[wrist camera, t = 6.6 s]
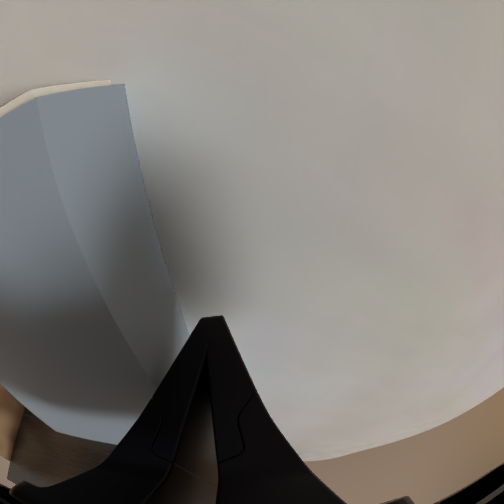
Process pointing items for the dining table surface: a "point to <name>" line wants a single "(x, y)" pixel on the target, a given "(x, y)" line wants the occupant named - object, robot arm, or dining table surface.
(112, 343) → the boxed book
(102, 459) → the bookend
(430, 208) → the dining table surface
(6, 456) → the wooden tray
